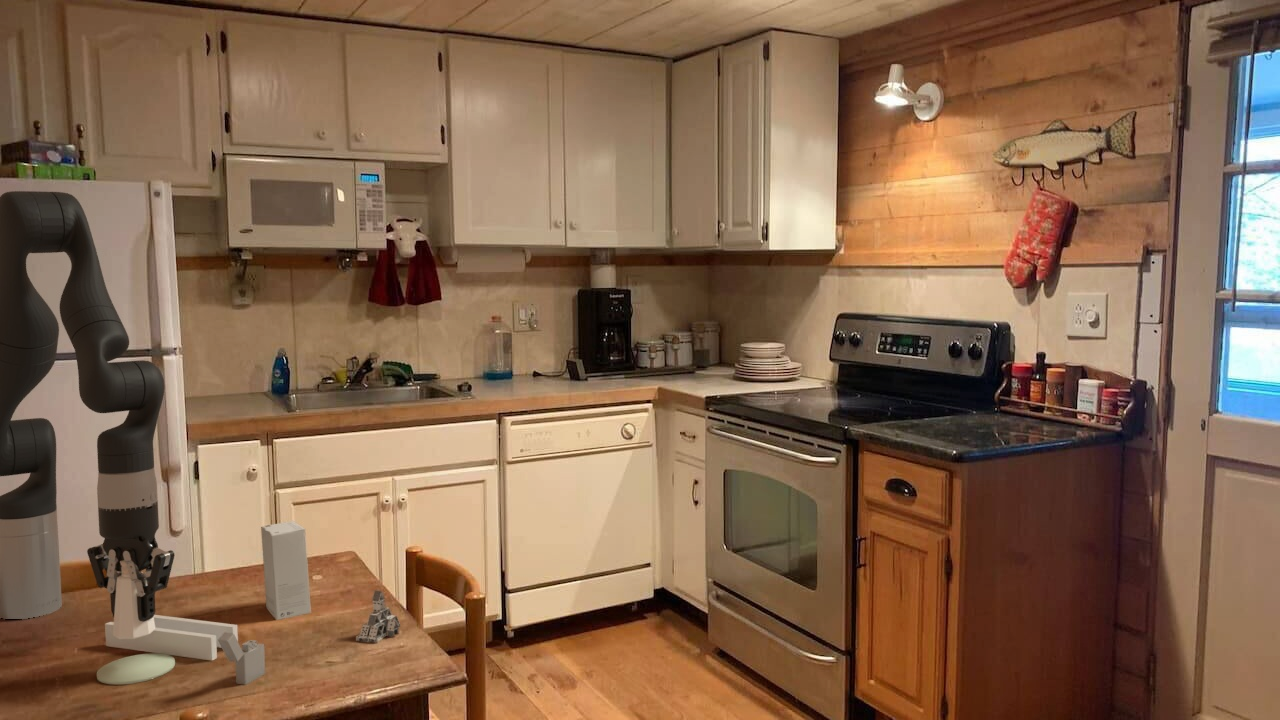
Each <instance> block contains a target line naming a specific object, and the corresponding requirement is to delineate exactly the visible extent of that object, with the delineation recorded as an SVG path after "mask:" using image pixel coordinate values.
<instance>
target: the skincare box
mask: <svg viewBox="0 0 1280 720" xmlns="http://www.w3.org/2000/svg"><path fill="white" fill-rule="evenodd" d="M260 533H261V544H262V546H261V547H262V549H261V550H262V560H263V561H262V563H263V576H264V577H263V578H264V591H265V604H266V607H265V608H266V609H267V610H268V612H269V613H270V614H271V615H272V617H273V618H274V619H275V620H276V621H280V620H285V619H289V618H290V619H291V618H294V617H298V616H303V615H308V614H312V610H311V609H312V608H311V597H310V581H309V579H310V577H309V566H308V554H307V539H306V528H304V527H303V526H302V525H300V524H298V523H297V522H296V521H294V520H293V521H286V522H279V523H274V524H273V523H272V524H268V525H262V526H260Z"/></svg>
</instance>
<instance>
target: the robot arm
mask: <svg viewBox="0 0 1280 720" xmlns="http://www.w3.org/2000/svg"><path fill="white" fill-rule="evenodd" d="M55 253H56V254H57V253H65V254H66V255H67V256H68V258H69V260H70V263H71V267H70V268H71V269H70V273H69V275H68V278H67V281H66V283H65V286H64V288H63V290H62V293H61V296H60V301H59V316H60V320H61V323H62V326H63V327H64V329H65V332H66V334H67V337H68V338H69V340H70V343H71V344H72V347H73V349H74V353H75V357H76V364H77V371H78V372H77V374H78V391H79V396H80V399H81V401H82V404H84V406H86V407H87V408H88V409H89V410H91V411H92V412H95V413H97V414H111V413H119V412H128V414H127V416H126V418H125V420H124V421H123V422H122V423H121V424H119V425H116V426H114V427H111V428H109V429H106V430H104V431H101V432H100V433H99V434H98V436H97V441H96V447H97V448H96V450H97V471H98V472H97V474H98V477H97V486H96V489H97V491H96V494H97V509H98V510H97V513H98V515H97V516H98V531H99V535H100V537H102V538H103V539H104V540H103V542H102V544H98V545H94V546H91V547H89V548H87V551H86V553H87V556H88V559H89V563H90V565H91V568H92V572H93V575H94V578H95V581H96V584H97V586H98V588H101V589H102V588H104V589H106V590H107V592H108V593H109V594H110V595H109V597H110V610H111V613H112V617H113V618H114V612H115V598H116V583H117V577H119V576H120V575H122V574H121V572H122V571H121V567H122V566H121V564H120V561H122V560H124V561H125V562H126V563H127V566H128V570H129V574H130V578H131V580H132V581H133V582H135V585H136V589H137V593H138V595H139V596H137V610H138V619H139V621H143V622H144V621H147V620H149V619H151V618H153V616H154V615H156V598H155V594H156V592H159V591H160V590H161V591H162V590H164V589H166V588H167V587H168V583H169V580H170V576H171V572H172V568H173V564H174V560H175V555H176V554H175V552H174V550H168V551H166V550H164V549H161V548H159V544H158V542H157V540H156V537H155V536H156V533H157V531H158V530H159V528H160V522H159V520H160V519H159V500H158V498H159V497H158V483H157V477H156V471H155V457H154V456H155V453H154V451H155V450H154V438H155V433H156V432H155V431H156V428H157V423H158V418H159V414H160V411H161V407H162V404H163V400H164V395H165V389H166V388H165V387H166V386H165V379H164V376H163V374H162V371H161V370H160V368H159V367H158V365H156V364H154V363H153V362H152V361H150V360H141V359H140V360H127V361H126V360H125V361H116V362H115V361H113V360H117V358H120V357H122V355H124V354H125V353H126V352H127V351H128V349H129V347H130V338H129V335H128V333H127V329H126V328H125V326H124V324H123V321H122V320H121V317H120V315H119V313H118V312H117V310H116V307H115V305H114V303H113V301H112V298H111V296H110V294H109V291H108V288H107V285H106V283H105V279H104V275H103V271H102V267H101V264H100V260H99V255H98V252H97V249H96V244H95V242H94V238H93V236H92V232H91V228H90V224H89V221H88V219H87V216H86V212H85V211H84V208H83V207H82V205H81V203H80V202H79V199H77V198H76V197H75V196H74V195H72V194H71V193H68V192H64V191H63V192H61V191H40V190H39V191H35V190H33V191H28V190H21V191H20V190H18V191H17V190H15V191H14V190H13V191H6V192H3V193H2V194H1V195H0V477H8V476H18V475H24V474H29V476H28V478H27V479H26V481H24V482H23V483H22V484H21V485H19V486H18V487H16V488H14V489H12V490H10V491H8V492H6V493H4V494H1V495H0V617H1V618H4V619H3V620H5V619H22V620H28V618H30V619H34V618H33V617H35V618H40V617H43V615H44V616H47V615H50V614H52V613H54V612H56V611H58V610H60V609H61V608H62V606H63V604H62V603H63V601H62V580H61V566H60V565H61V563H60V559H61V558H60V545H59V541H60V540H59V528H58V526H59V525H58V510H57V509H58V507H57V438H56V431H55V429H54V426H53V424H52V423H51V421H50V420H49V419H47V418H44V417H37V418H36V417H35V418H24V419H23V418H22V419H13V420H12V417H13V415H14V414H15V411H16V410H17V408H18V407H19V405H20V404H21V403H22V401H23V400H24V399H25V398H26V397H27V396H28V395H29V394H30V393H31V392H32V391H33V390H34V389H35V388H36V387H37V386H38V385H39V384H40V383H41V382H42V381H43V380H44V379H45V377H46V376H47V375H48V374H49V373H50V371H51V370H52V368H53V366H54V364H55V362H56V359H57V352H58V351H57V350H58V343H59V335H60V326H59V321H58V319H57V317H56V315H55V314H54V312H53V310H52V309H51V307H50V306H49V304H48V303H47V302H46V301H45V299H44V298H43V297H42V295H41V294H40V293H39V292H38V291H37V289H36V287H35V286H34V285H33V282H32V281H31V279H30V277H29V275H28V270H27V258H28V255H29V254H55ZM110 361H113V362H110ZM104 571H105V574H106V577H105V574H104ZM139 571H141V572H143V571H144V572H143V573H139ZM144 578H146V581H147V586H145V583H144ZM60 607H61V608H60ZM46 614H47V615H46ZM39 616H40V617H39ZM1 618H0V619H1Z"/></svg>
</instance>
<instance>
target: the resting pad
mask: <svg viewBox="0 0 1280 720" xmlns="http://www.w3.org/2000/svg"><path fill="white" fill-rule="evenodd" d="M175 665H176V660H175V658H174V656H173V655H168V654H160V653H153V652H149V653H140V654H135V655H130V656H125V657H121V658H119V659H115V660H113V661H110V662H108V663H106V664H104V665H103V666H101V667H100V668H99V669H98V670H97V672H96V679H97V681H98V682H100V683H102V684H107V685H113V686H115V685H117V686H119V685H121V686H122V685H131V684H132V685H133V684H138V683H143V682H146V681H151V680H153V679H157V678H160V677H162V676H164V675H165V674H167V673H169V672H170V671H172V670H173V669H174V667H175Z"/></svg>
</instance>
